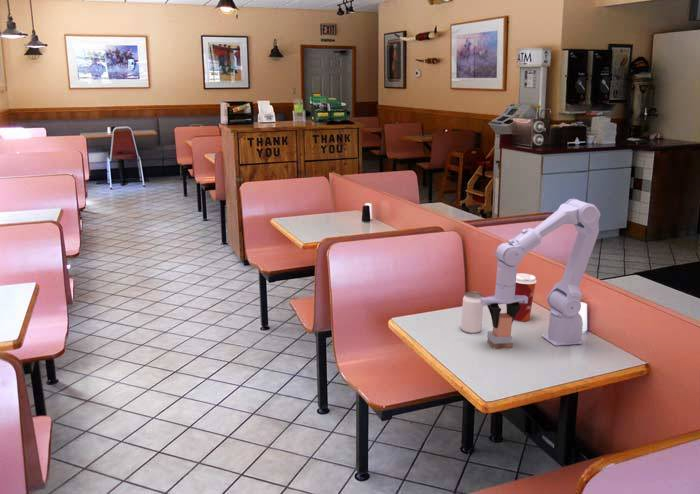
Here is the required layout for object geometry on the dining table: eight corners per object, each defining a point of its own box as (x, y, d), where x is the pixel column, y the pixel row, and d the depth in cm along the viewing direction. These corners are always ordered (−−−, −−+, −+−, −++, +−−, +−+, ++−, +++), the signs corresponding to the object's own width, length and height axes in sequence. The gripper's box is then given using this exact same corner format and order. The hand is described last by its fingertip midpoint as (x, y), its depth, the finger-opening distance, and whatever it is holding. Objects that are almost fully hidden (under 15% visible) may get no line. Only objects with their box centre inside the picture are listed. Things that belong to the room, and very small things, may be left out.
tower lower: (503, 342, 197) (504, 336, 196) (511, 349, 192) (512, 343, 191) (487, 343, 196) (487, 337, 195) (495, 350, 190) (495, 344, 190)
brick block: (504, 331, 195) (506, 312, 193) (510, 336, 191) (512, 317, 189) (492, 332, 194) (494, 313, 192) (498, 337, 190) (500, 318, 189)
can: (476, 335, 201) (479, 299, 198) (457, 330, 204) (460, 295, 201) (484, 329, 206) (486, 293, 203) (465, 324, 209) (467, 290, 206)
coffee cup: (535, 323, 212) (540, 280, 208) (510, 322, 212) (514, 279, 208) (529, 314, 220) (533, 272, 216) (505, 313, 220) (509, 272, 216)
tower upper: (504, 336, 196) (504, 330, 196) (511, 343, 191) (511, 336, 191) (487, 336, 195) (487, 330, 195) (494, 343, 190) (494, 337, 190)
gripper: (521, 278, 194) (517, 320, 197) (477, 280, 191) (474, 323, 194) (533, 285, 187) (528, 328, 191) (487, 287, 184) (483, 331, 188)
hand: (501, 326), depth 192 cm, fingers closed on brick block, 4 cm apart
